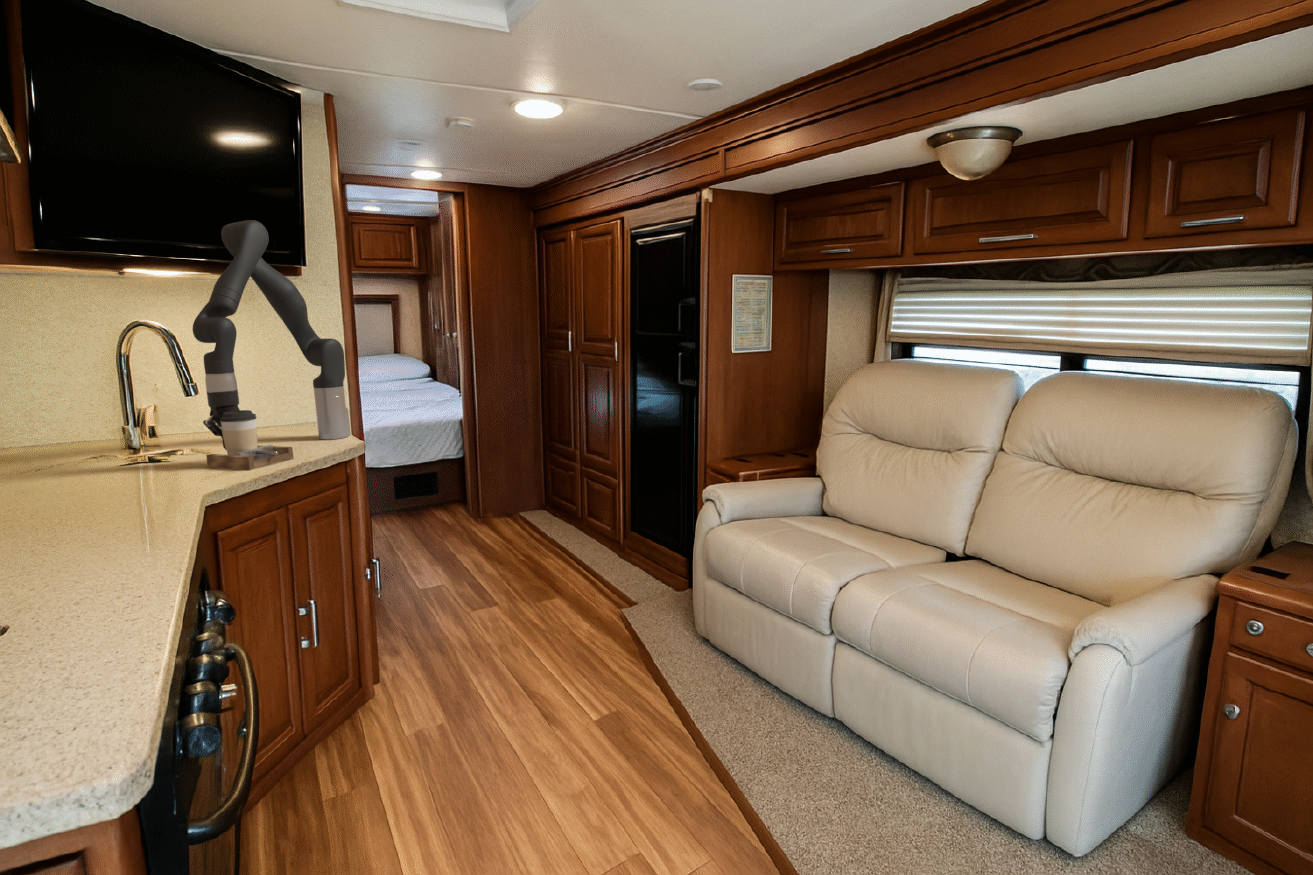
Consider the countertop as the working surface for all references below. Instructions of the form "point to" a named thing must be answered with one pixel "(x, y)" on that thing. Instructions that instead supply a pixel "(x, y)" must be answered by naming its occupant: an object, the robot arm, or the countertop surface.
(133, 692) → the countertop surface
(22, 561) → the countertop surface
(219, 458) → the wooden tray
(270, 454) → the pusher
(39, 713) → the countertop surface
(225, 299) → the robot arm
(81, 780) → the countertop surface
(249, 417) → the coffee cup
